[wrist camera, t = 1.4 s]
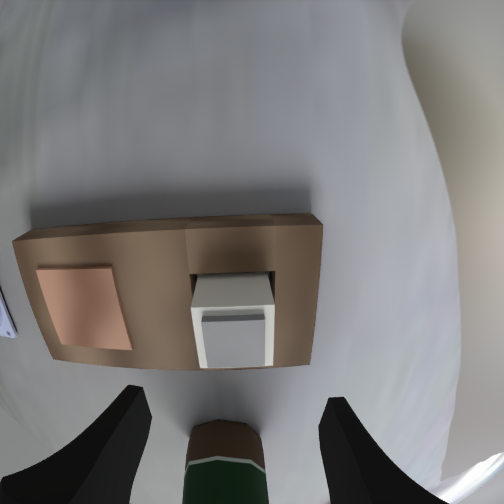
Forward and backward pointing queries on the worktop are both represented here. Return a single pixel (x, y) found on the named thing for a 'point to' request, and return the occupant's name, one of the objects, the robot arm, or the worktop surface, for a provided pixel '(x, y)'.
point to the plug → (233, 319)
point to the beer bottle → (225, 465)
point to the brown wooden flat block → (165, 285)
